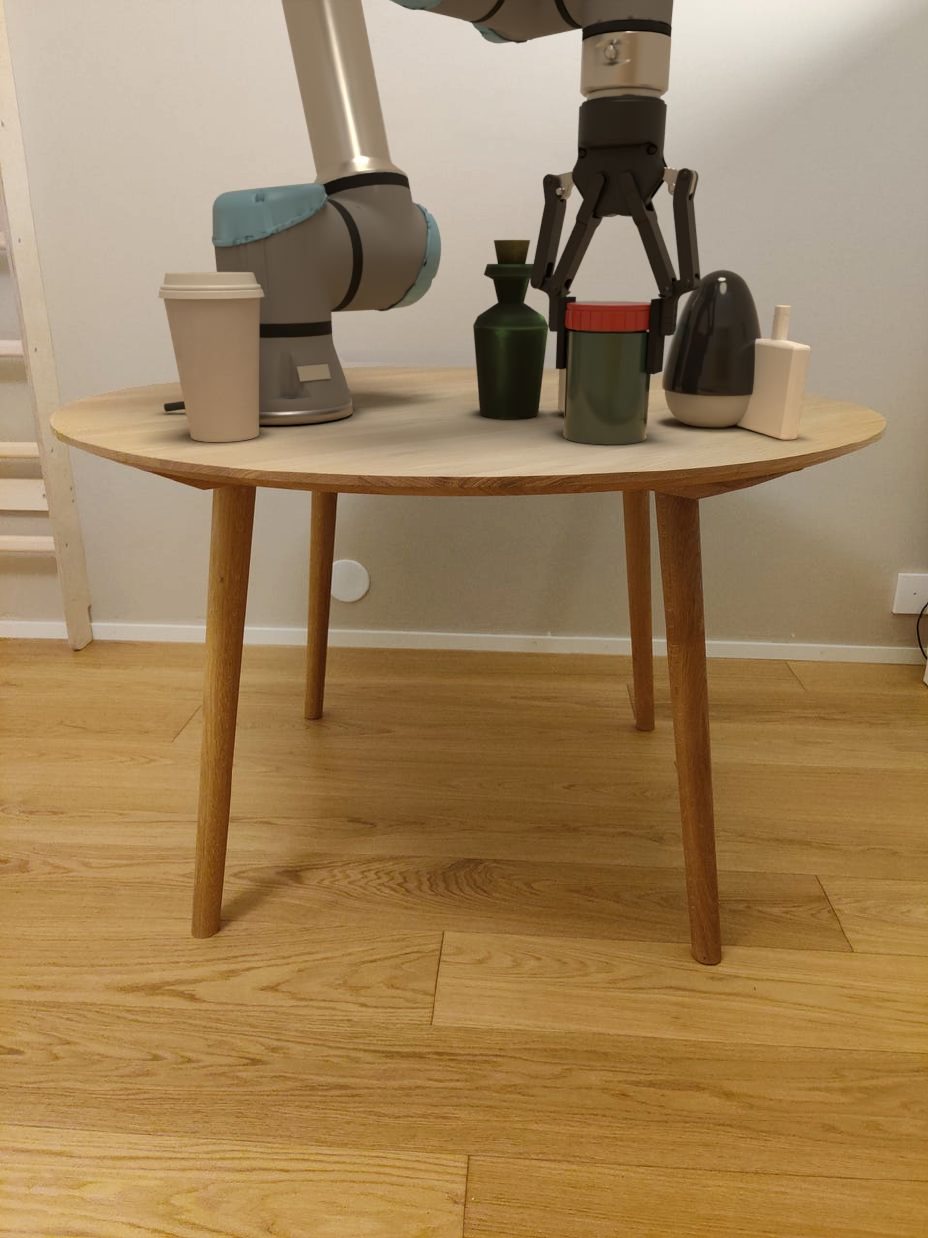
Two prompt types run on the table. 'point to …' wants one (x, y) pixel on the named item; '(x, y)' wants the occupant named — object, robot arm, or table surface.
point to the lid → (608, 316)
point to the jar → (606, 387)
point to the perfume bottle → (777, 382)
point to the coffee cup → (216, 350)
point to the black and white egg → (713, 353)
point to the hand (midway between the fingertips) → (608, 369)
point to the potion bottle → (510, 339)
